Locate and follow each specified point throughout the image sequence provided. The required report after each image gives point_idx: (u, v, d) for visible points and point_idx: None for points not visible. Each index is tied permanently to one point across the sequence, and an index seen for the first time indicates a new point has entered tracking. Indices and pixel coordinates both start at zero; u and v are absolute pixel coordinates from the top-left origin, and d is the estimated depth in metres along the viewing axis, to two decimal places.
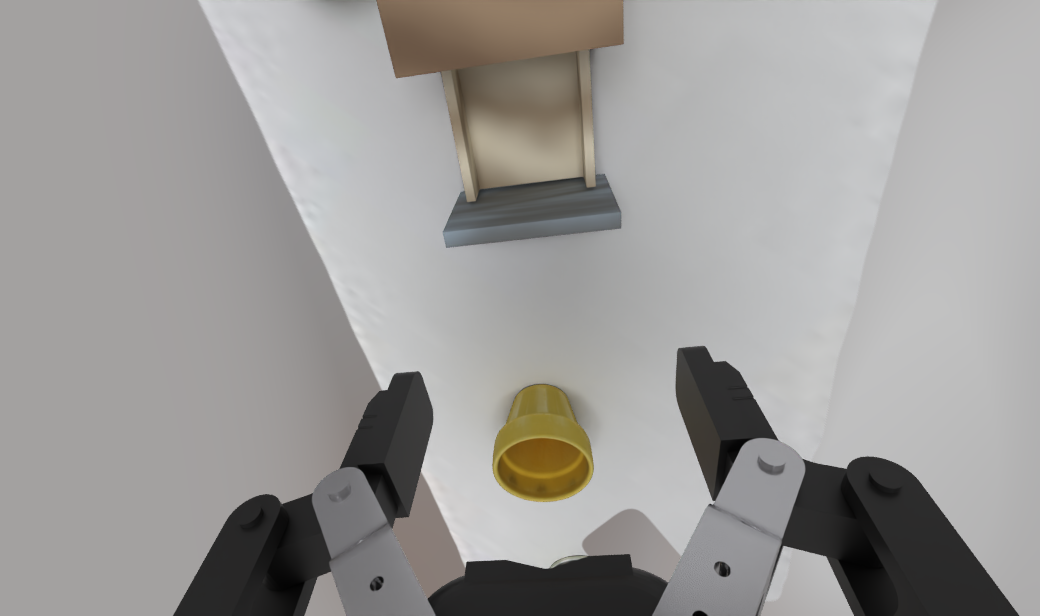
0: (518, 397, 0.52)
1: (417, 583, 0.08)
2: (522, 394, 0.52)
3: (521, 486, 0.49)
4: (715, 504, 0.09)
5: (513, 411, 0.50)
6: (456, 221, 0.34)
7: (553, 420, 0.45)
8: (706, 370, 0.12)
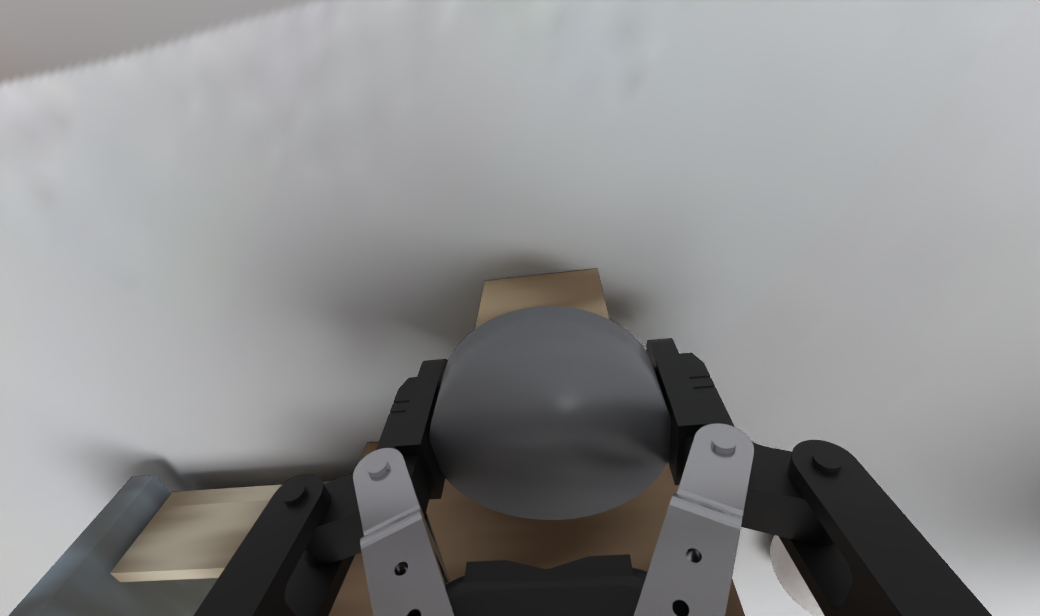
0: None
1: (439, 575, 0.08)
2: None
3: None
4: (678, 493, 0.09)
5: None
6: None
7: None
8: (671, 361, 0.13)
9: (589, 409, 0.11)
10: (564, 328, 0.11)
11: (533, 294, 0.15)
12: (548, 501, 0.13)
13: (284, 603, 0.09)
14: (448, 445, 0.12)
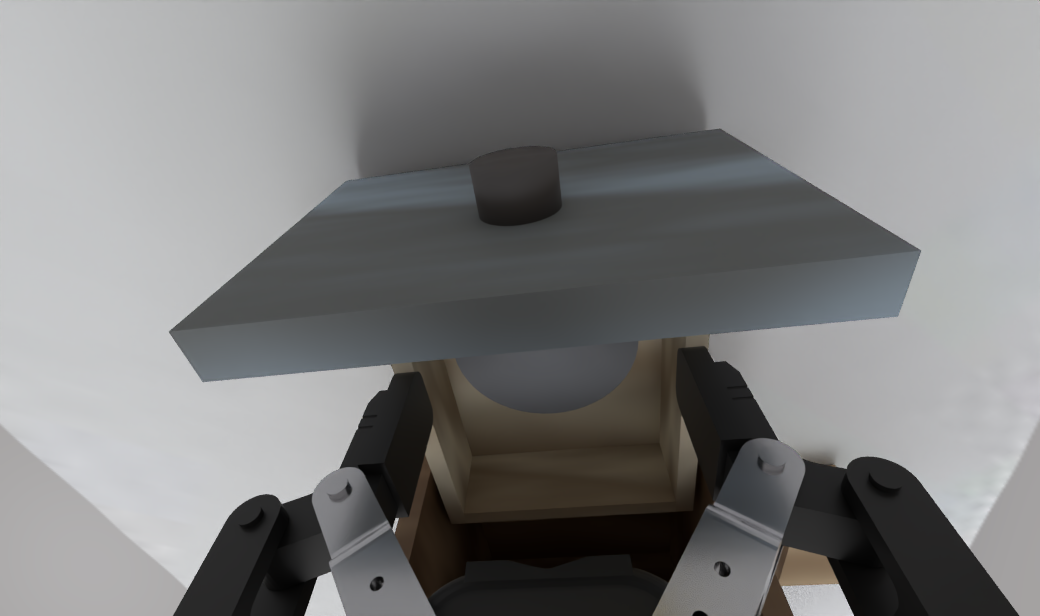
0: None
1: (417, 583, 0.08)
2: None
3: None
4: (715, 504, 0.09)
5: None
6: None
7: None
8: (706, 370, 0.12)
9: None
10: None
11: None
12: (543, 396, 0.17)
13: None
14: None
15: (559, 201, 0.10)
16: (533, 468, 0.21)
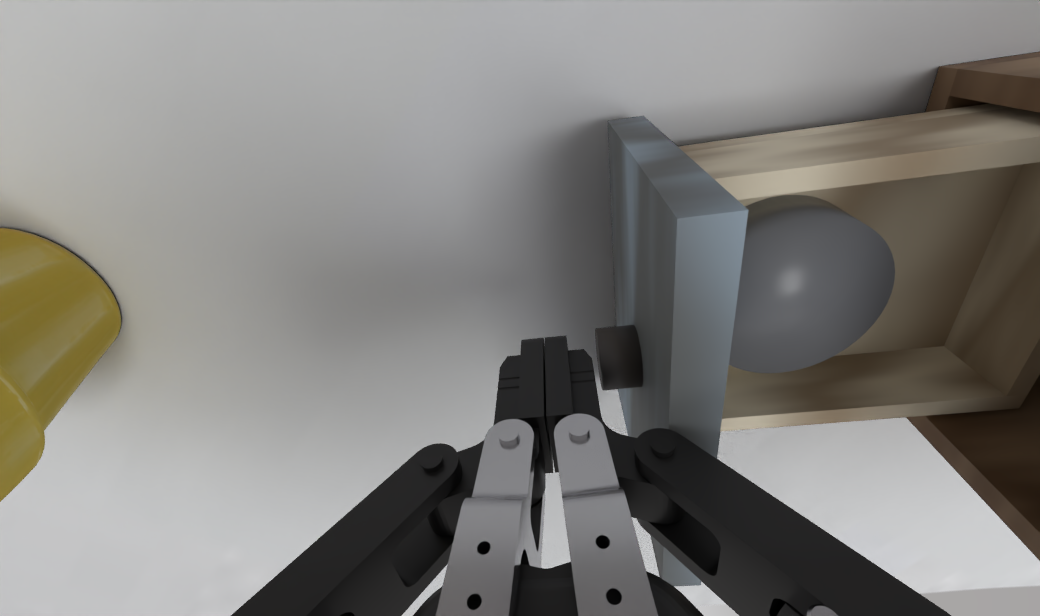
0: (35, 253, 0.19)
1: (511, 575, 0.08)
2: (52, 263, 0.19)
3: None
4: (563, 493, 0.09)
5: None
6: None
7: (8, 435, 0.15)
8: (558, 356, 0.13)
9: (758, 279, 0.15)
10: None
11: None
12: (860, 303, 0.16)
13: (390, 562, 0.10)
14: (769, 363, 0.17)
15: (632, 338, 0.14)
16: (991, 297, 0.17)
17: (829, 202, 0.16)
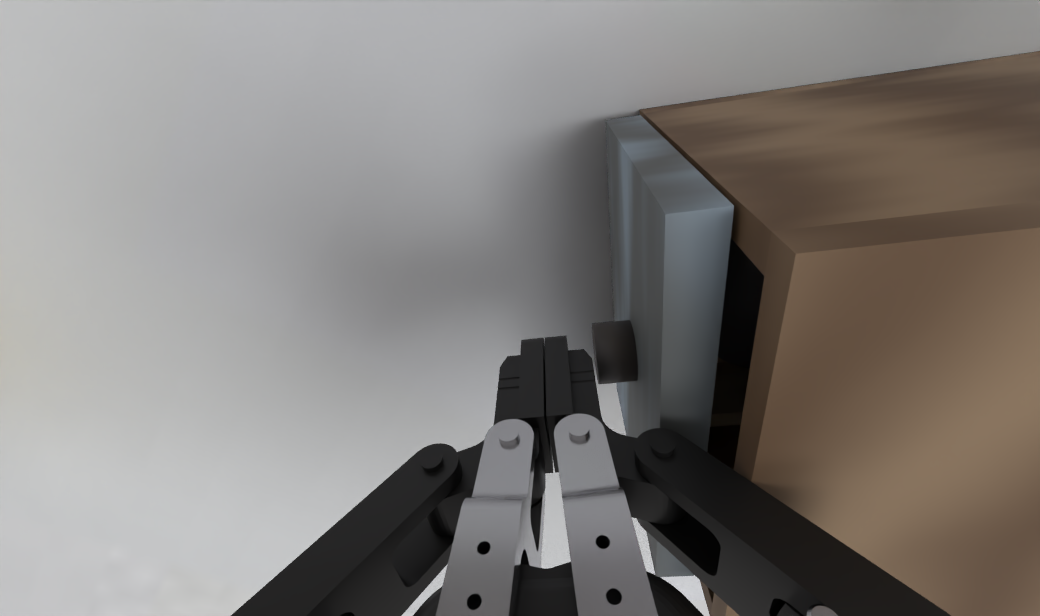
0: None
1: (511, 575, 0.08)
2: None
3: None
4: (563, 493, 0.09)
5: None
6: None
7: None
8: (558, 356, 0.13)
9: (753, 275, 0.16)
10: None
11: None
12: None
13: (390, 562, 0.10)
14: None
15: (627, 333, 0.14)
16: None
17: None
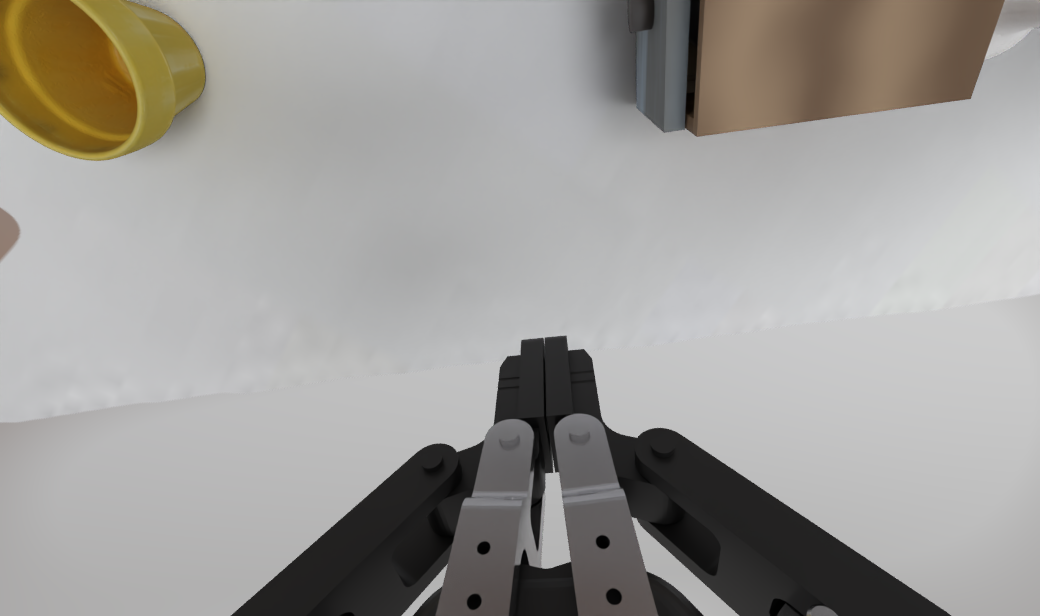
0: (164, 17, 0.32)
1: (511, 575, 0.08)
2: (173, 25, 0.33)
3: None
4: (563, 493, 0.09)
5: (138, 8, 0.30)
6: None
7: (164, 85, 0.29)
8: (558, 356, 0.13)
9: None
10: None
11: None
12: None
13: (390, 562, 0.10)
14: None
15: None
16: None
17: None
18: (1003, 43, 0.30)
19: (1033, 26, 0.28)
